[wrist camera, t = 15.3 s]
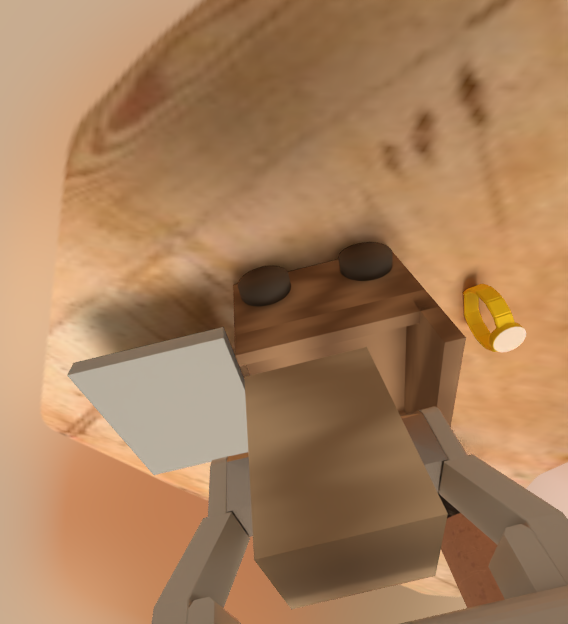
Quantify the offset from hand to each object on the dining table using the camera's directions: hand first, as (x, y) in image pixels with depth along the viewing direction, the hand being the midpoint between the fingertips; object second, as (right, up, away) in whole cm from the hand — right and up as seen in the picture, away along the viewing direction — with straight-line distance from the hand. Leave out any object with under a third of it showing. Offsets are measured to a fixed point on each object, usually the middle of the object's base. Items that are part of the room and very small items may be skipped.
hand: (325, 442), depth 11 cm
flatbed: (+2, +2, +22) cm, 22 cm away
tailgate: (-4, -3, +17) cm, 17 cm away
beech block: (0, +1, +1) cm, 2 cm away
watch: (+17, +5, +22) cm, 28 cm away
